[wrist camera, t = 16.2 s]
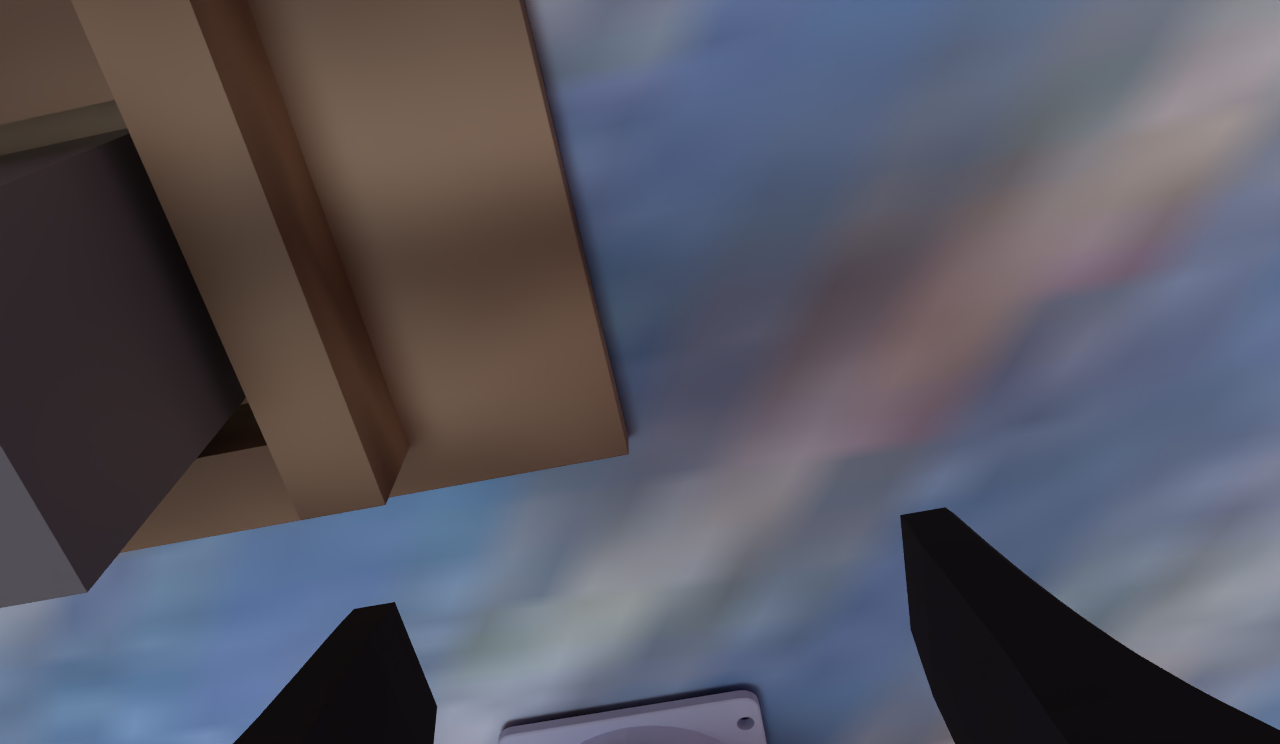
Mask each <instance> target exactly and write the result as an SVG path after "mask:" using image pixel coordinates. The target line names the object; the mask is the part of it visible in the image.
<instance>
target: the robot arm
mask: <svg viewBox="0 0 1280 744" xmlns="http://www.w3.org/2000/svg"><path fill="white" fill-rule="evenodd" d="M900 517H901V528H902V539H903V549H904V560H905V571H906V582H907V593H908V604H909V615H910V626H911V631H912V635H913V638H914V641H915V644H916V647H917V650H918V653H919V656H920V659H921V662H922V665H923V668H924V671H925V674H926V677H927V680H928V682H929V685H930V688H931V691H932V694H933V697H934V699H935V701H936V703H937V706H938V708H939V710H940V712H941V714H942V716H943V719H944V721H945V723H946V725H947V727H948V729H949V731H950V734H951V736H952V738H953V740H954V742H955V744H1280V730H1278V729H1276V728H1274V727H1272V726H1270V725H1268V724H1266V723H1264V722H1262V721H1260V720H1258V719H1256V718H1254V717H1252V716H1250V715H1248V714H1246V713H1244V712H1242V711H1240V710H1238V709H1236V708H1234V707H1232V706H1229V705H1227V704H1225V703H1223V702H1221V701H1220V700H1218V699H1216V698H1214V697H1212V696H1210V695H1208V694H1206V693H1204V692H1203V691H1201V690H1199V689H1197V688H1195V687H1193V686H1191V685H1190V684H1188V683H1186V682H1184V681H1183V680H1181V679H1179V678H1178V677H1176V676H1174V675H1172V674H1171V673H1169V672H1167V671H1165V670H1164V669H1162V668H1160V667H1159V666H1157V665H1155V664H1153V663H1152V662H1150V661H1148V660H1146V659H1145V658H1143V657H1141V656H1140V655H1138V654H1137V653H1135V652H1133V651H1132V650H1130V649H1129V648H1127V647H1126V646H1124V645H1123V644H1121V643H1120V642H1118V641H1116V640H1115V639H1114V638H1112V637H1111V636H1109V635H1108V634H1106V633H1105V632H1103V631H1102V630H1100V629H1099V628H1097V627H1096V626H1095V625H1093V624H1092V623H1090V622H1089V621H1087V620H1086V619H1084V618H1083V617H1082V616H1080V615H1079V614H1077V613H1076V612H1075V611H1073V610H1072V609H1071V608H1069V607H1068V606H1066V605H1065V604H1064V603H1062V602H1061V601H1060V600H1058V599H1057V598H1056V597H1054V596H1053V595H1052V594H1051V593H1049V592H1048V591H1047V590H1045V589H1044V588H1043V587H1041V586H1040V585H1039V584H1037V583H1036V582H1035V581H1034V580H1032V579H1031V578H1030V577H1028V576H1027V575H1026V574H1025V573H1023V572H1022V571H1021V570H1020V569H1018V568H1017V567H1016V566H1015V565H1013V564H1012V563H1011V562H1010V561H1009V560H1007V559H1006V558H1005V557H1004V556H1003V555H1001V554H1000V553H999V552H998V551H997V550H995V549H994V548H993V547H992V546H991V545H989V544H988V543H987V542H986V541H985V540H984V539H982V538H981V537H980V536H979V535H978V534H977V533H976V532H974V531H973V530H972V529H971V528H970V527H969V526H968V525H966V524H965V523H964V522H963V521H962V520H961V519H960V518H958V517H957V516H956V515H955V514H954V513H952V512H951V511H950V510H948V509H947V508H939V509H933V510H928V511H922V512H916V513H910V514H904V515H900ZM436 712H437V705H436V703H435V700H434V698H433V695H432V693H431V690H430V688H429V685H428V683H427V680H426V678H425V675H424V673H423V671H422V668H421V666H420V663H419V661H418V658H417V656H416V653H415V651H414V648H413V646H412V643H411V641H410V638H409V636H408V634H407V631H406V629H405V626H404V624H403V621H402V619H401V616H400V614H399V611H398V609H397V606H396V604H395V602H392V603H387V604H381V605H375V606H369V607H363V608H358V609H354V610H353V611H352V612H351V613H350V614H349V615H348V616H347V617H346V618H345V619H344V620H343V621H342V622H341V623H340V625H339V626H338V627H337V628H336V629H335V630H334V631H333V632H332V634H331V635H330V636H329V637H328V638H327V639H326V640H325V642H324V643H323V644H322V645H321V646H320V647H319V648H318V650H317V651H316V652H315V653H314V654H313V655H312V657H311V658H310V659H309V660H308V661H307V662H306V663H305V665H304V666H303V667H302V668H301V669H300V670H299V672H298V673H297V674H296V675H295V676H294V677H293V678H292V680H291V681H290V682H289V683H288V684H287V685H286V686H285V687H284V689H283V690H282V691H281V692H280V693H279V694H278V695H277V696H276V698H275V699H274V700H273V701H272V702H271V703H270V704H269V706H268V707H267V708H266V709H265V710H264V711H263V712H262V713H261V715H260V716H259V717H258V718H257V719H256V720H255V721H254V722H253V723H252V724H251V725H250V727H249V728H248V729H247V730H246V731H245V732H244V733H243V734H242V735H241V736H240V737H239V738H238V739H237V740H236V741H235V742H234V743H233V744H433V743H434V733H435V722H436ZM743 717H749V719H746V720H741V718H743ZM498 744H767V742H766V737H765V732H764V727H763V722H762V716H761V711H760V706H759V701H758V698H757V696H756V695H755V694H754V693H752V692H750V691H746V690H739V691H732V692H726V693H720V694H714V695H707V696H701V697H695V698H688V699H682V700H676V701H670V702H663V703H657V704H651V705H645V706H638V707H632V708H626V709H620V710H613V711H607V712H601V713H595V714H588V715H582V716H576V717H570V718H563V719H557V720H551V721H545V722H538V723H532V724H526V725H520V726H513V727H509V728H506V729H504V730H503V731H502V732H501V733H500V735H499V740H498Z"/></svg>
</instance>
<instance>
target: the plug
mask: <svg viewBox="0 0 1280 744" xmlns="http://www.w3.org/2000/svg"><path fill="white" fill-rule="evenodd" d="M245 398H246V396H245V394H244V391H243V389H242V387H241V385H240V382H239V380H238V378H237V375H236V373H235V371H234V369H233V366H232V364H231V362H230V360H229V357H228V355H227V353H226V351H225V348H224V346H223V344H222V341H221V339H220V337H219V335H218V332H217V330H216V328H215V326H214V323H213V321H212V319H211V317H210V314H209V312H208V310H207V308H206V305H205V303H204V301H203V298H202V296H201V294H200V292H199V289H198V287H197V285H196V283H195V280H194V278H193V276H192V274H191V271H190V269H189V267H188V265H187V262H186V260H185V258H184V255H183V253H182V251H181V249H180V246H179V244H178V242H177V240H176V237H175V235H174V233H173V231H172V228H171V226H170V224H169V221H168V219H167V217H166V215H165V212H164V210H163V208H162V206H161V203H160V201H159V199H158V197H157V194H156V192H155V190H154V188H153V185H152V183H151V181H150V178H149V176H148V174H147V172H146V169H145V167H144V165H143V163H142V160H141V158H140V156H139V154H138V151H137V149H136V147H135V145H134V142H133V140H132V138H131V135H130V133H129V131H128V129H127V128H126V129H121V130H116V131H112V132H107V133H103V134H98V135H93V136H89V137H84V138H80V139H75V140H70V141H66V142H61V143H57V144H52V145H47V146H43V147H38V148H33V149H29V150H24V151H20V152H15V153H10V154H6V155H1V156H0V608H2V607H8V606H14V605H19V604H25V603H31V602H36V601H42V600H47V599H53V598H59V597H64V596H70V595H76V594H81V593H87V592H88V591H89V590H90V588H91V587H92V586H93V585H94V584H95V582H96V581H97V580H98V579H99V577H100V576H101V575H102V574H103V572H104V571H105V570H106V569H107V568H108V566H109V565H110V564H111V563H112V561H113V560H114V559H115V558H116V557H117V555H118V554H119V553H120V552H121V550H122V549H123V548H124V547H125V545H126V544H127V543H128V542H129V541H130V539H131V538H132V537H133V536H134V534H135V533H136V532H137V531H138V530H139V528H140V527H141V526H142V525H143V523H144V522H145V521H146V520H147V518H148V517H149V516H150V515H151V514H152V512H153V511H154V510H155V509H156V507H157V506H158V505H159V504H160V503H161V501H162V500H163V499H164V498H165V496H166V495H167V494H168V493H169V491H170V490H171V489H172V488H173V487H174V485H175V484H176V483H177V482H178V480H179V479H180V478H181V477H182V475H183V474H184V473H185V472H186V471H187V469H188V468H189V467H190V466H191V464H192V463H193V462H194V461H195V460H196V458H197V457H198V456H199V455H200V453H201V452H202V451H203V450H204V448H205V447H206V446H207V445H208V444H209V442H210V441H211V440H212V439H213V437H214V436H215V435H216V434H217V433H218V431H219V430H220V429H221V428H222V426H223V425H224V424H225V423H226V421H227V420H228V419H229V418H230V417H231V415H232V414H233V413H234V412H235V410H236V409H237V408H238V407H239V406H240V404H241V403H242V402H243V401H244V399H245Z"/></svg>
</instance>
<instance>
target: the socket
mask: <svg viewBox="0 0 1280 744" xmlns="http://www.w3.org/2000/svg"><path fill="white" fill-rule="evenodd" d="M126 128H127V129H128V131H129V133H130V135H131V138H132V140H133V142H134V145H135V147H136V149H137V151H138V154H139V156H140V158H141V160H142V163H143V165H144V167H145V169H146V172H147V174H148V176H149V178H150V181H151V183H152V185H153V188H154V190H155V192H156V194H157V197H158V199H159V201H160V203H161V206H162V208H163V210H164V212H165V215H166V217H167V219H168V221H169V224H170V226H171V228H172V231H173V233H174V235H175V237H176V240H177V242H178V244H179V246H180V249H181V251H182V253H183V255H184V258H185V260H186V262H187V265H188V267H189V269H190V271H191V274H192V276H193V278H194V280H195V283H196V285H197V287H198V289H199V292H200V294H201V296H202V298H203V301H204V303H205V305H206V308H207V310H208V312H209V314H210V317H211V319H212V321H213V323H214V326H215V328H216V330H217V332H218V335H219V337H220V339H221V341H222V344H223V346H224V348H225V351H226V353H227V355H228V357H229V360H230V362H231V364H232V366H233V369H234V371H235V373H236V375H237V378H238V380H239V382H240V385H241V387H242V389H243V391H244V394H245V396H246V398H245V399H244V401H243V402H242V403H241V404H240V406H239V407H238V408H237V409H236V410H235V412H234V413H233V414H232V415H231V417H230V418H229V419H228V420H227V421H226V423H225V424H224V425H223V426H222V428H221V429H220V430H219V431H218V433H217V434H216V435H215V436H214V437H213V439H212V440H211V441H210V442H209V444H208V445H207V446H206V447H205V448H204V450H203V451H202V452H201V453H200V455H199V456H198V457H197V458H196V460H195V461H194V462H193V463H192V464H191V466H190V467H189V468H188V469H187V471H186V472H185V473H184V474H183V475H182V477H181V478H180V479H179V480H178V482H177V483H176V484H175V485H174V487H173V488H172V489H171V490H170V491H169V493H168V494H167V495H166V496H165V498H164V499H163V500H162V501H161V503H160V504H159V505H158V506H157V507H156V509H155V510H154V511H153V512H152V514H151V515H150V516H149V517H148V518H147V520H146V521H145V522H144V523H143V525H142V526H141V527H140V528H139V530H138V531H137V532H136V533H135V534H134V536H133V537H132V538H131V539H130V541H129V542H128V543H127V544H126V545H125V547H124V548H123V549H122V550H121V552H127V551H133V550H138V549H144V548H149V547H155V546H160V545H166V544H171V543H177V542H182V541H188V540H194V539H199V538H205V537H210V536H216V535H221V534H227V533H232V532H238V531H243V530H249V529H255V528H260V527H266V526H271V525H277V524H282V523H288V522H293V521H299V520H304V519H310V518H316V517H321V516H327V515H332V514H338V513H343V512H349V511H354V510H360V509H365V508H371V507H377V506H382V505H386V502H387V500H388V498H389V497H394V496H400V495H405V494H411V493H416V492H422V491H428V490H433V489H439V488H444V487H450V486H455V485H461V484H466V483H472V482H477V481H483V480H488V479H494V478H499V477H505V476H510V475H516V474H521V473H527V472H533V471H538V470H544V469H549V468H555V467H560V466H566V465H571V464H577V463H582V462H588V461H593V460H599V459H604V458H610V457H615V456H621V455H627V454H629V449H628V434H627V430H626V426H625V422H624V417H623V413H622V409H621V405H620V401H619V397H618V392H617V388H616V384H615V380H614V376H613V371H612V367H611V363H610V359H609V355H608V350H607V346H606V342H605V338H604V334H603V330H602V325H601V321H600V317H599V313H598V309H597V304H596V300H595V296H594V292H593V288H592V284H591V279H590V275H589V271H588V267H587V263H586V258H585V254H584V250H583V246H582V242H581V238H580V233H579V229H578V225H577V221H576V217H575V212H574V208H573V204H572V200H571V196H570V191H569V187H568V183H567V179H566V175H565V171H564V166H563V162H562V158H561V154H560V150H559V145H558V141H557V137H556V133H555V129H554V125H553V120H552V116H551V112H550V108H549V104H548V99H547V95H546V91H545V87H544V83H543V78H542V74H541V70H540V66H539V62H538V58H537V53H536V49H535V45H534V41H533V37H532V32H531V28H530V24H529V20H528V16H527V12H526V7H525V3H524V0H0V156H1V155H6V154H10V153H15V152H20V151H24V150H29V149H33V148H38V147H43V146H47V145H52V144H57V143H61V142H66V141H70V140H75V139H80V138H84V137H89V136H93V135H98V134H103V133H107V132H112V131H116V130H121V129H126ZM121 552H120V553H121Z"/></svg>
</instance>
